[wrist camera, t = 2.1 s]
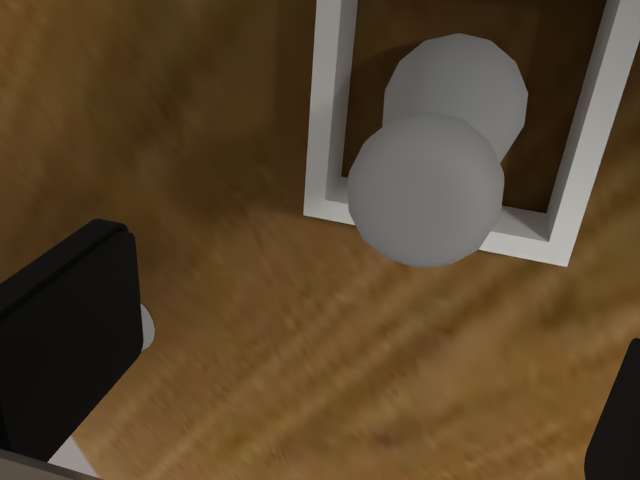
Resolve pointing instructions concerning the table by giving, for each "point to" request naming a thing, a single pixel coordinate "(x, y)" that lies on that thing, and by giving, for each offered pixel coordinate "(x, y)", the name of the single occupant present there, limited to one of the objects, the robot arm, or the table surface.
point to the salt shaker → (439, 152)
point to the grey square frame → (513, 224)
